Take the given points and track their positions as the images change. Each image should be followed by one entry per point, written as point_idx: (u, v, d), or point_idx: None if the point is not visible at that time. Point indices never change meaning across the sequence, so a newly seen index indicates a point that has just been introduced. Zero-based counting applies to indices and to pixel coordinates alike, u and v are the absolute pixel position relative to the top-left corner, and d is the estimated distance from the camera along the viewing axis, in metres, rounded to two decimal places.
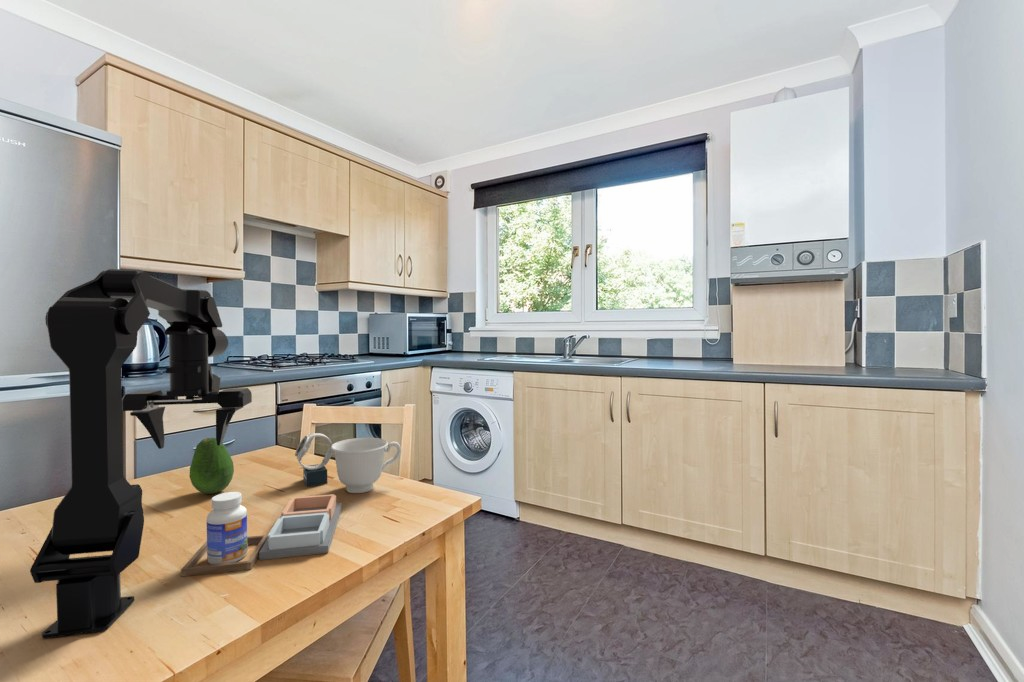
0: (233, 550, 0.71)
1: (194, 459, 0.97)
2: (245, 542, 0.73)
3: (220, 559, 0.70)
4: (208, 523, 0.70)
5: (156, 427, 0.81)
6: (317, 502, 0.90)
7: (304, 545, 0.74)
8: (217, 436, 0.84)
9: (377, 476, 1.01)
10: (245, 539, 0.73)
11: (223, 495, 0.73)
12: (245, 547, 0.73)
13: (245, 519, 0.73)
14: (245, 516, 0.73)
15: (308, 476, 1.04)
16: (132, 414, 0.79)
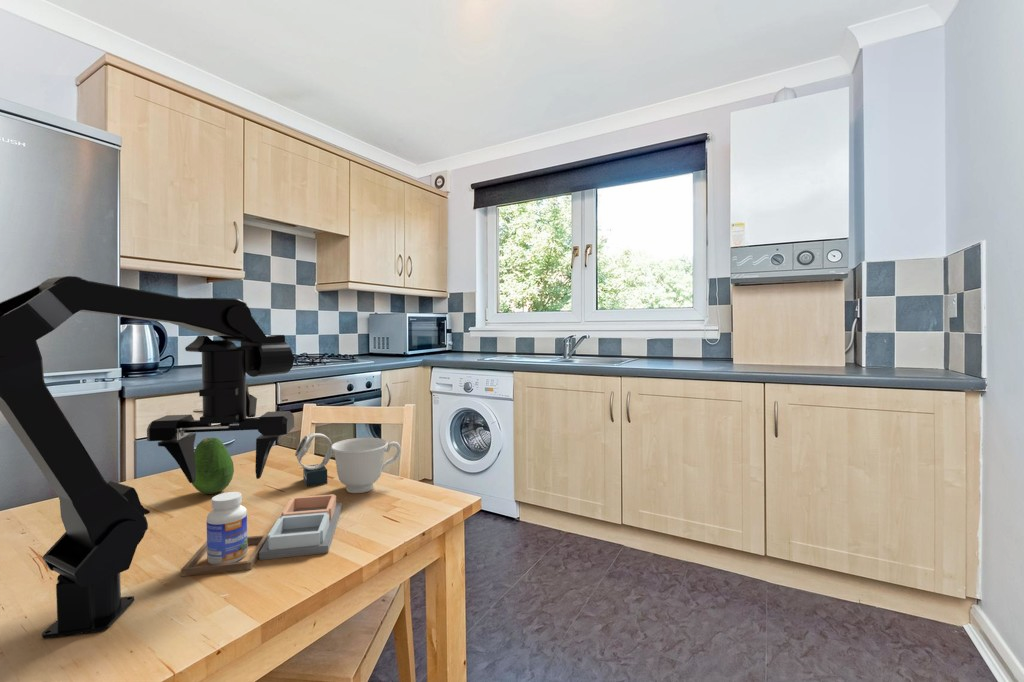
0: (233, 550, 0.71)
1: None
2: (245, 542, 0.73)
3: (220, 559, 0.70)
4: (208, 523, 0.70)
5: (187, 459, 0.70)
6: (317, 502, 0.90)
7: (304, 545, 0.74)
8: (257, 468, 0.72)
9: (377, 476, 1.01)
10: (245, 539, 0.73)
11: (223, 495, 0.73)
12: (245, 547, 0.73)
13: (245, 519, 0.73)
14: (245, 516, 0.73)
15: (308, 476, 1.04)
16: (160, 445, 0.67)
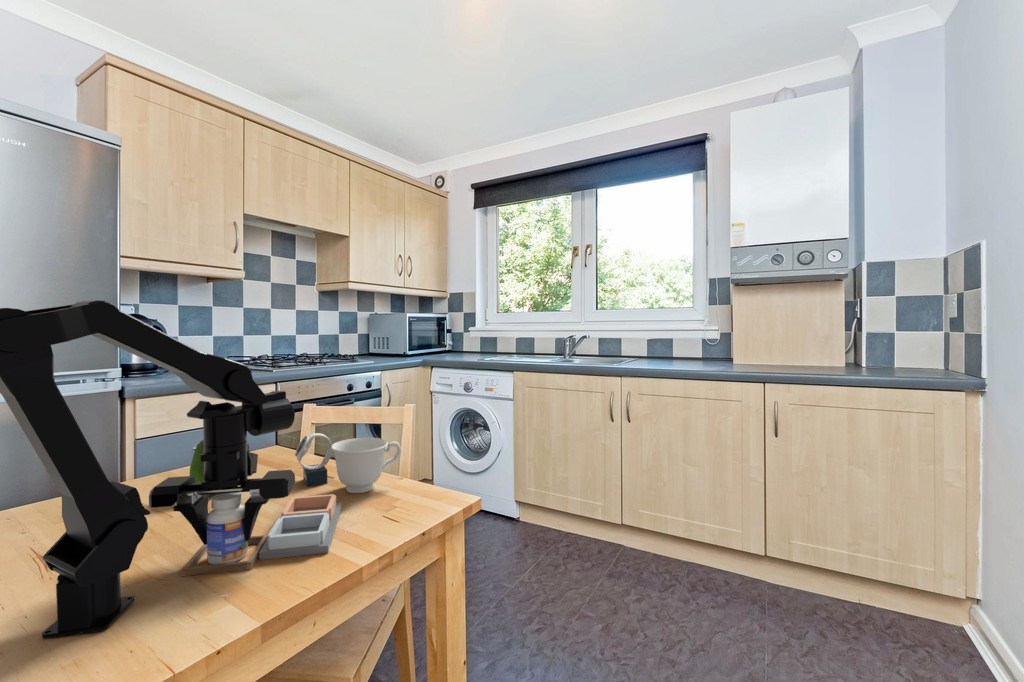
0: (233, 550, 0.71)
1: (194, 459, 0.97)
2: (245, 542, 0.73)
3: (220, 559, 0.70)
4: (208, 523, 0.70)
5: (202, 521, 0.71)
6: (317, 502, 0.90)
7: (304, 545, 0.74)
8: (246, 531, 0.72)
9: (377, 476, 1.01)
10: None
11: (223, 495, 0.73)
12: (245, 547, 0.73)
13: None
14: None
15: (308, 476, 1.04)
16: (175, 510, 0.68)
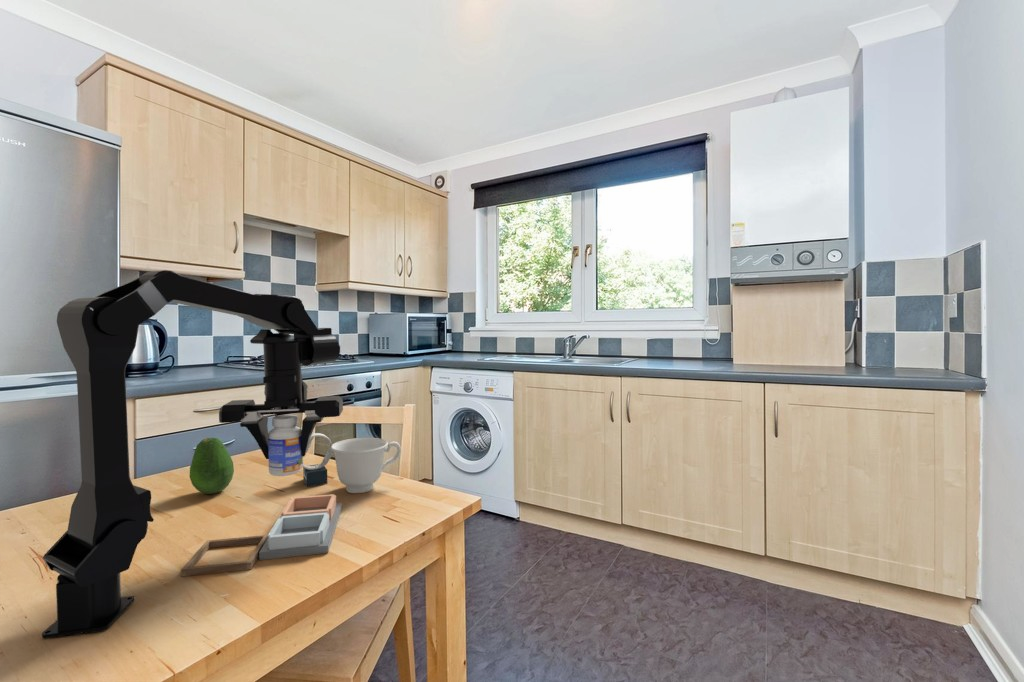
0: (292, 464, 0.80)
1: (194, 459, 0.97)
2: (301, 458, 0.82)
3: (281, 470, 0.79)
4: (270, 439, 0.79)
5: (264, 437, 0.79)
6: (317, 502, 0.90)
7: (304, 545, 0.74)
8: (302, 447, 0.81)
9: (377, 476, 1.01)
10: (301, 455, 0.82)
11: (282, 416, 0.81)
12: (301, 462, 0.82)
13: (301, 438, 0.82)
14: (301, 435, 0.82)
15: (308, 476, 1.04)
16: (242, 425, 0.77)
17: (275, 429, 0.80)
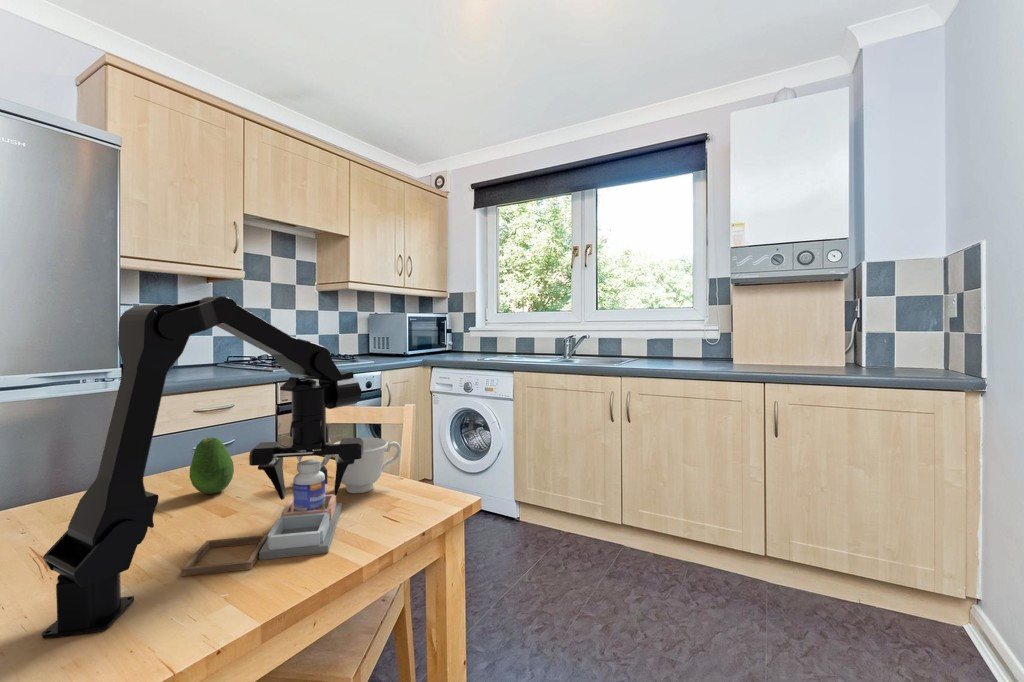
0: (316, 507, 0.84)
1: (194, 459, 0.97)
2: (324, 501, 0.86)
3: None
4: (295, 484, 0.84)
5: (280, 479, 0.84)
6: None
7: (304, 545, 0.74)
8: (336, 487, 0.86)
9: (377, 476, 1.01)
10: (324, 499, 0.86)
11: (306, 462, 0.86)
12: (324, 506, 0.86)
13: (324, 482, 0.86)
14: (324, 479, 0.86)
15: None
16: (260, 468, 0.81)
17: (300, 474, 0.84)
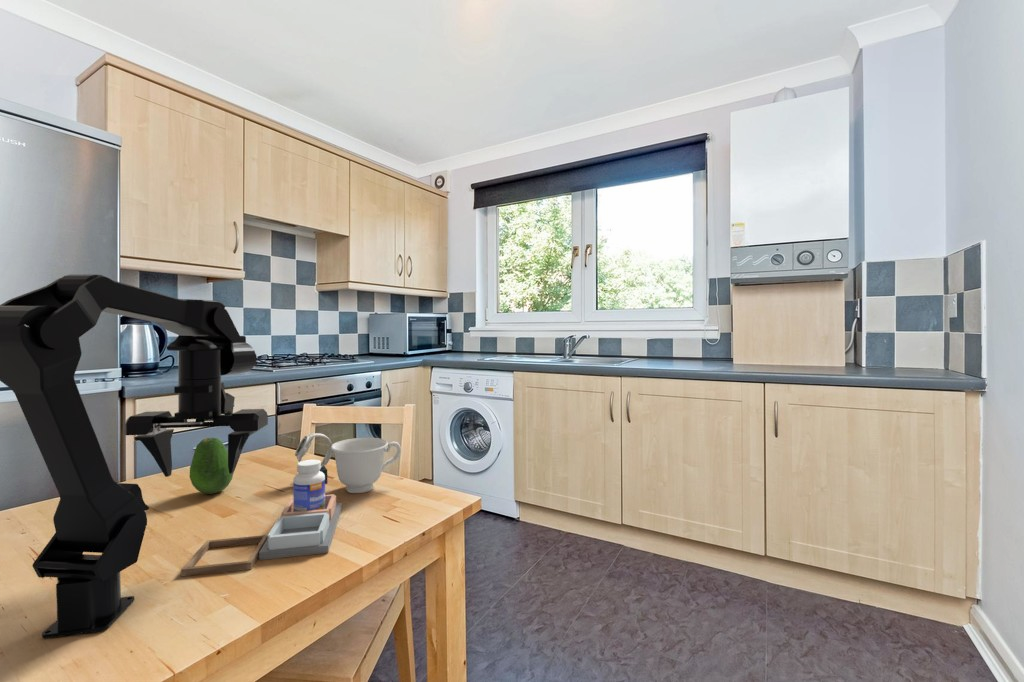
0: (316, 507, 0.84)
1: (194, 459, 0.97)
2: (324, 501, 0.86)
3: None
4: (295, 484, 0.84)
5: (163, 453, 0.73)
6: None
7: (304, 545, 0.74)
8: (229, 463, 0.75)
9: (377, 476, 1.01)
10: (324, 499, 0.86)
11: (306, 462, 0.86)
12: (324, 506, 0.86)
13: (324, 482, 0.86)
14: (324, 479, 0.86)
15: None
16: (136, 439, 0.71)
17: (300, 475, 0.84)
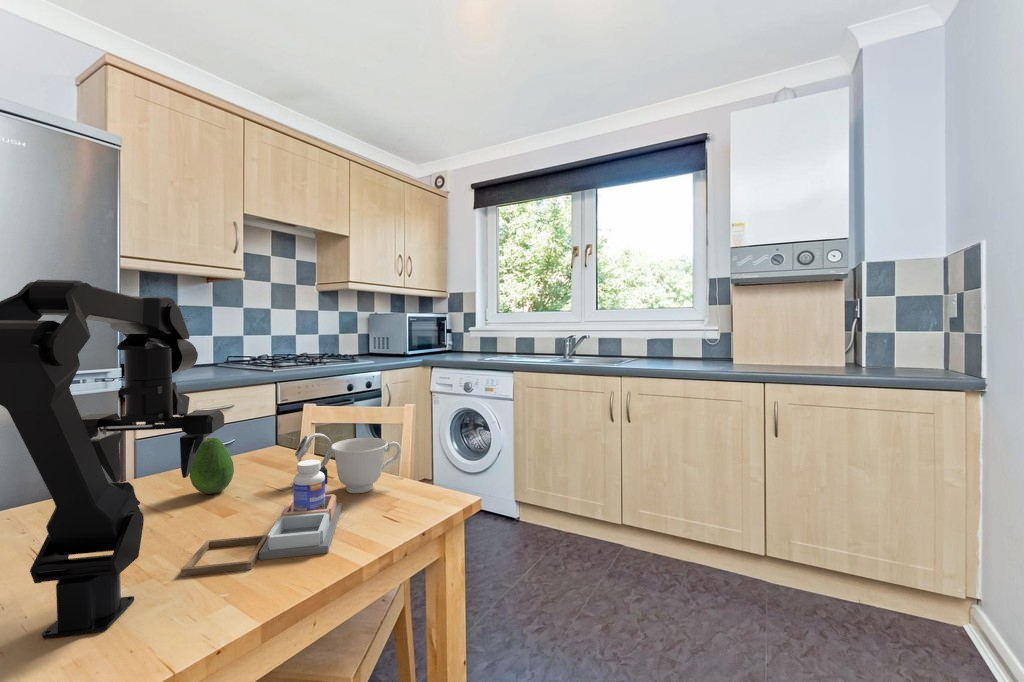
0: (316, 508, 0.84)
1: (194, 459, 0.97)
2: (324, 501, 0.86)
3: None
4: (295, 484, 0.84)
5: (110, 458, 0.69)
6: None
7: (304, 545, 0.74)
8: (182, 467, 0.71)
9: (377, 476, 1.01)
10: (324, 499, 0.86)
11: (306, 462, 0.86)
12: (324, 506, 0.86)
13: (324, 482, 0.86)
14: (324, 479, 0.86)
15: None
16: None
17: (300, 475, 0.84)
